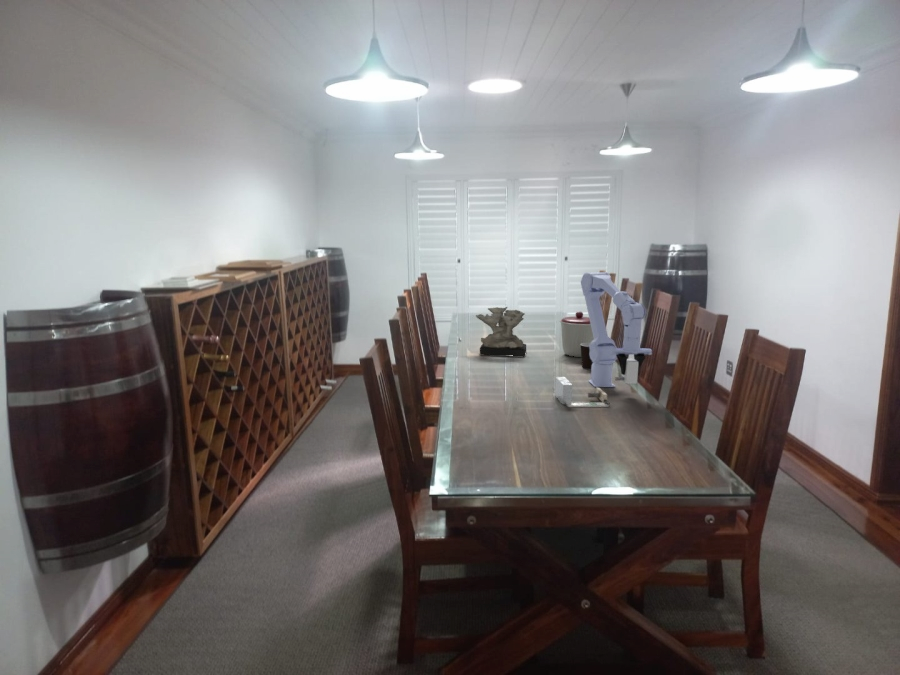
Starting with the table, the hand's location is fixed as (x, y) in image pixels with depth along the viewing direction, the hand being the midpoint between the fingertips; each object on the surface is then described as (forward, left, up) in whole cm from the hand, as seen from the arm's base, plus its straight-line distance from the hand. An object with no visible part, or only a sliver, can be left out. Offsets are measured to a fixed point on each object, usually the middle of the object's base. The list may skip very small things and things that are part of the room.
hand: (629, 374), depth 213 cm
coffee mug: (-45, 0, -8) cm, 46 cm away
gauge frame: (+7, -19, -8) cm, 22 cm away
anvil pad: (+7, -14, -8) cm, 17 cm away
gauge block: (0, -1, -3) cm, 3 cm away
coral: (-78, -36, -8) cm, 86 cm away
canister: (-70, 0, -8) cm, 70 cm away
